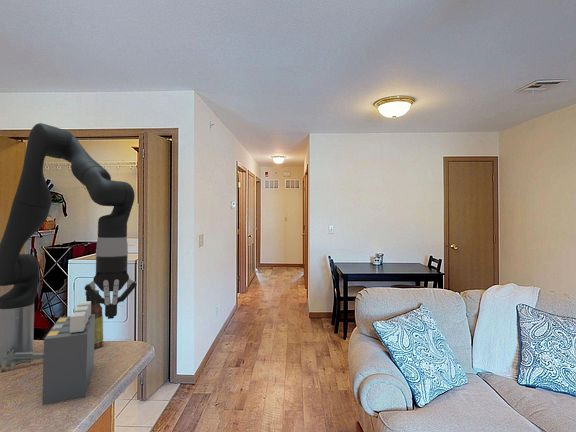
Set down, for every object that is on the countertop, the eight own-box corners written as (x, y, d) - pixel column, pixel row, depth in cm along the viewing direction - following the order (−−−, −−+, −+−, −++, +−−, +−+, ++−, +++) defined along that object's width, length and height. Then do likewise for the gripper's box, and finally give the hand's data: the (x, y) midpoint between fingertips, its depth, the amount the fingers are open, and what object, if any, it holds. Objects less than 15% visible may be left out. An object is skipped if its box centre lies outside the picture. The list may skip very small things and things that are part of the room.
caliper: (1, 373, 96) (1, 351, 96) (1, 371, 96) (2, 350, 96) (83, 356, 108) (83, 337, 108) (83, 355, 109) (83, 336, 109)
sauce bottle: (102, 342, 120) (104, 287, 120) (103, 348, 114) (104, 291, 115) (81, 345, 116) (83, 289, 117) (81, 351, 111) (82, 292, 111)
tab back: (76, 319, 94) (77, 305, 94) (79, 315, 98) (79, 301, 98) (89, 318, 95) (89, 304, 95) (90, 314, 99) (91, 301, 99)
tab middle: (73, 325, 88) (73, 310, 89) (75, 321, 92) (76, 307, 92) (86, 324, 90) (86, 309, 90) (88, 320, 93) (88, 306, 93)
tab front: (69, 332, 83) (70, 316, 83) (72, 327, 87) (72, 312, 87) (83, 331, 84) (83, 315, 84) (85, 326, 88) (85, 311, 88)
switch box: (42, 405, 79) (44, 338, 80) (58, 371, 97) (59, 316, 97) (85, 397, 83) (87, 333, 83) (93, 366, 100) (95, 313, 101)
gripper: (138, 251, 95) (137, 311, 95) (85, 253, 90) (84, 316, 89) (139, 254, 88) (137, 319, 88) (81, 256, 83) (80, 325, 83)
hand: (110, 317), depth 89 cm, fingers closed
